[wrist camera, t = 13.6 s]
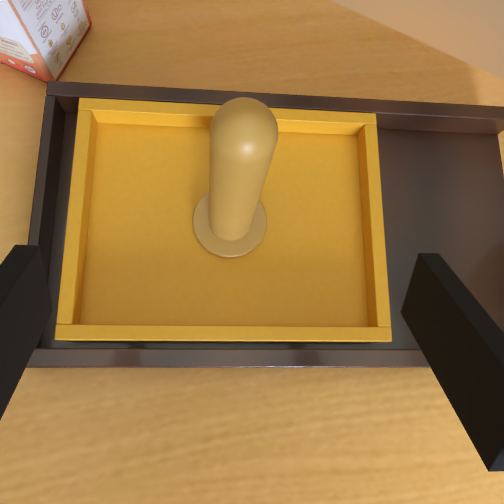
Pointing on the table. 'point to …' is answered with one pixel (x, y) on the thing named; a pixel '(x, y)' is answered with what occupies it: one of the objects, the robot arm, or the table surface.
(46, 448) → the table surface
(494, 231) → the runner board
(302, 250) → the tray
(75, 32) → the cracker box
